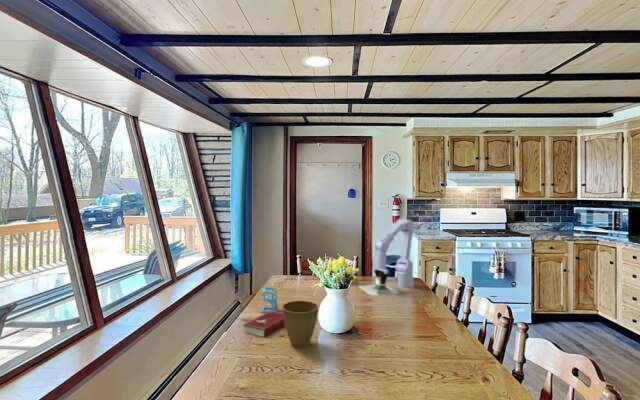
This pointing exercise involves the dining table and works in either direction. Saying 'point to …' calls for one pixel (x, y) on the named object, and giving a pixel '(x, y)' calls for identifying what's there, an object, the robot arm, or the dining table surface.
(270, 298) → the chair
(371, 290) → the packing board
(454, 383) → the dining table surface
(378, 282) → the cream box
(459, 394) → the dining table surface
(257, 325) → the hardcover book
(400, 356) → the dining table surface
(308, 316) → the plant pot
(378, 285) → the walnut block
